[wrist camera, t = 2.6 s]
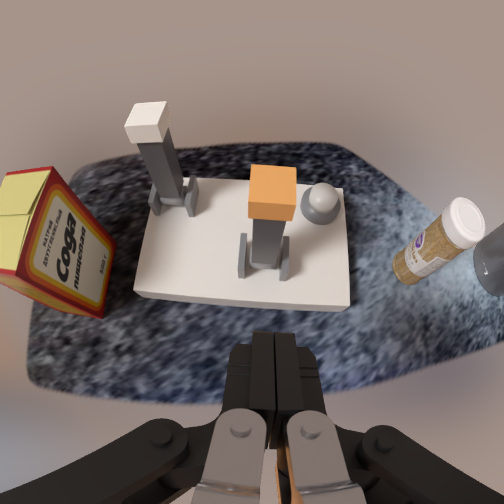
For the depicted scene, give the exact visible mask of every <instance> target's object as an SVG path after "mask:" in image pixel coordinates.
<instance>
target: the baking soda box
mask: <svg viewBox="0 0 504 504" xmlns="http://www.w3.org/2000/svg"><path fill="white" fill-rule="evenodd" d="M116 246H117V243H116V242H115V240H114V239H113V238H112V237H111V236H110V235H109V234H108V233H107V231H106V230H105V229H104V228H103V227H102V226H101V225H100V223H99V222H98V221H97V220H96V219H95V218H94V216H93V215H92V214H91V213H90V212H89V211H88V209H87V208H86V207H85V206H84V205H83V203H82V202H81V201H80V200H79V198H78V197H77V196H76V195H75V194H74V192H73V191H72V190H71V189H70V187H69V186H68V185H67V184H66V182H65V181H64V180H63V178H62V177H61V176H60V175H59V173H58V172H57V171H56V169H55V168H54V167H53V166H49V167H41V168H35V169H28V170H20V171H14V172H8V173H7V174H6V176H5V178H4V180H3V182H2V185H1V187H0V283H1V284H2V285H5V286H7V287H8V288H10V289H13V290H14V291H16V292H18V293H20V294H22V295H25V296H27V297H29V298H31V299H33V300H35V301H37V302H40V303H42V304H44V305H46V306H49V307H51V308H53V309H55V310H58V311H60V312H65V313H70V314H76V315H81V316H87V317H93V318H99V319H103V313H104V307H105V301H106V295H107V289H108V284H109V279H110V273H111V269H112V264H113V259H114V254H115V250H116Z"/></svg>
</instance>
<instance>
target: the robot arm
mask: <svg viewBox="0 0 504 504" xmlns="http://www.w3.org/2000/svg"><path fill="white" fill-rule="evenodd" d="M474 266H475V270H476V273H477V276H478V279H479V281H480V282H481V284H482V286H483V287H484V289H485V290H486V291H487V292H488V293H490V294H491V295H493V296H502V295H504V223H503V224H502V225H500V226H499V227H498V228H497V229H495V230H494V231H493V232H491V233H490V234H489V235H487V236H486V237H485V238H483V239H482V240H481V241H480V242H478V244H477V245H476V247H475V251H474ZM317 368H318V367H317V362H316V357H315V356H314V354H313V353H312V352H311V350H310V349H309V348H308V347H296V340H295V334H294V333H283V332H274V335H273V332H263V331H253V335H252V345H249V344H237V345H236V346H235V347H234V348H233V350H232V351H231V352H230V356H229V363H228V370H227V377H226V384H225V391H224V399H223V406H222V411H221V412H220V414H219V416H218V417H217V418H216V419H215V420H214V421H212V422H210V423H208V424H206V425H202V426H197V427H189V428H183V427H182V426H181V425H180V424H178V423H177V422H175V421H173V420H169V419H163V418H160V419H154V420H150V421H148V422H146V423H145V424H143V425H141V426H139V427H138V428H136V429H134V430H133V431H131V432H129V433H127V434H125V435H124V436H122V437H120V438H118V439H116V440H115V441H113V442H111V443H109V444H107V445H105V446H104V447H102V448H100V449H98V450H96V451H94V452H92V453H90V454H88V455H86V456H84V457H82V458H81V459H78V460H76V461H74V462H72V463H70V464H68V465H66V466H64V467H62V468H60V469H58V470H56V471H54V472H51V473H49V474H47V475H45V476H42V477H40V478H38V479H36V480H33V481H31V482H28V483H26V484H23V485H21V486H19V487H16V488H14V489H11V490H8V491H6V492H3V493H0V504H169V503H171V502H172V501H174V500H175V499H177V498H178V497H180V496H181V495H182V494H184V493H185V492H187V491H188V490H189V489H191V488H192V487H196V488H195V491H194V494H193V497H192V501H191V504H259V500H260V483H261V474H262V465H263V456H264V452H265V449H267V447H268V443H269V449H277V462H276V465H275V475H276V484H277V493H278V503H279V504H504V496H503V495H501V494H500V493H498V492H496V491H494V490H492V489H490V488H489V487H487V486H485V485H484V484H482V483H480V482H479V481H477V480H475V479H473V478H472V477H470V476H468V475H467V474H465V473H463V472H462V471H460V470H459V469H457V468H455V467H454V466H452V465H451V464H449V463H447V462H446V461H444V460H443V459H441V458H439V457H438V456H436V455H435V454H433V453H432V452H430V451H429V450H427V449H426V448H424V447H423V446H421V445H419V444H418V443H416V442H415V441H413V440H412V439H410V438H409V437H407V436H406V435H404V434H403V433H402V432H400V431H399V430H397V429H395V428H394V427H391V426H387V425H378V426H375V427H372V428H370V429H369V430H368V431H367V432H366V433H361V432H356V431H351V430H346V429H343V428H341V427H338V426H337V425H335V424H334V423H333V421H332V420H331V419H330V418H329V417H328V416H327V414H326V410H325V404H324V399H323V393H322V388H321V383H320V379H319V372H318V370H317Z"/></svg>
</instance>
